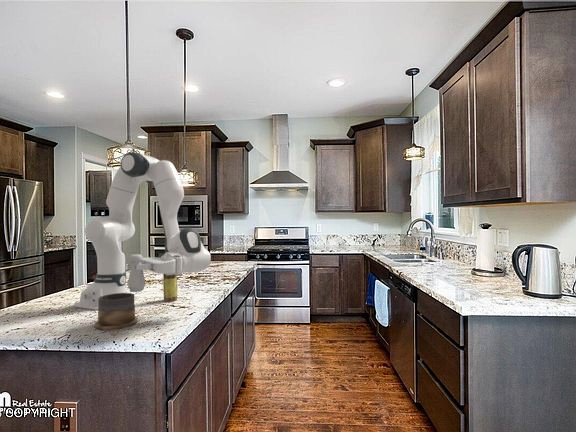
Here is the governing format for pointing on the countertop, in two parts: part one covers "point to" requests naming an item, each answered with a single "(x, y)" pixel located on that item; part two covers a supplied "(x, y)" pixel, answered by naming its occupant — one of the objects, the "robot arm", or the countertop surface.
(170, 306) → the countertop surface
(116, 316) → the brown pot
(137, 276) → the salt shaker
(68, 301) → the countertop surface
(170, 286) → the sauce bottle
